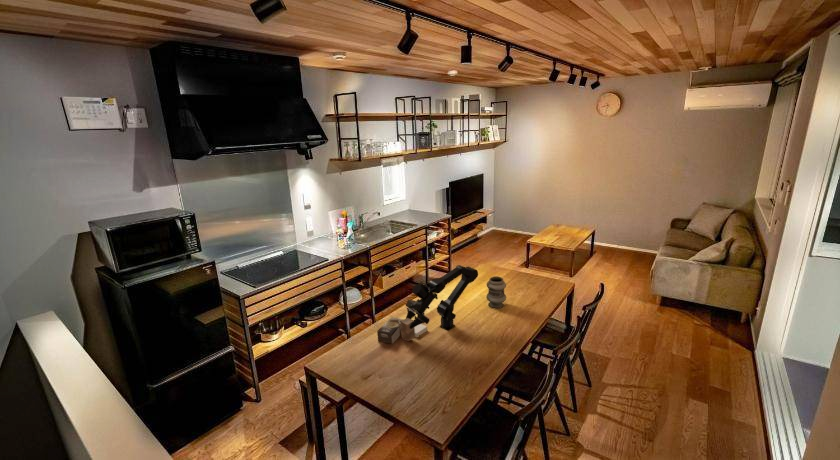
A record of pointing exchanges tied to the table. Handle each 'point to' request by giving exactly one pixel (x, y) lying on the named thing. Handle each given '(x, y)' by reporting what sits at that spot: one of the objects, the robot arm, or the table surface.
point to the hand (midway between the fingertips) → (407, 325)
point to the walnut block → (407, 329)
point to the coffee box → (390, 330)
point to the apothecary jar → (496, 292)
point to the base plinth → (420, 329)
